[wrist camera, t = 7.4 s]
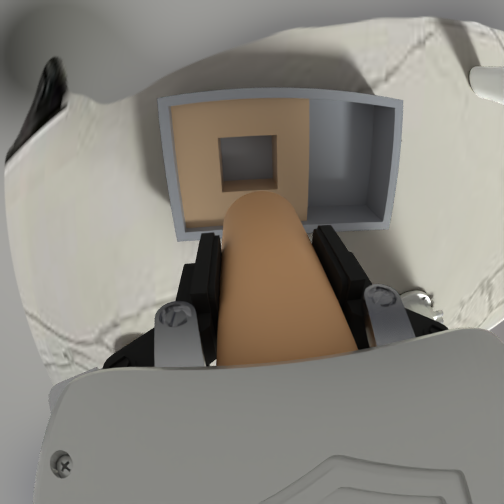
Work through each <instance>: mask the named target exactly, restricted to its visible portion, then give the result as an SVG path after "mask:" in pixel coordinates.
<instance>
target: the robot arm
mask: <svg viewBox="0 0 504 504" xmlns="http://www.w3.org/2000/svg"><path fill="white" fill-rule="evenodd" d="M312 246H313V248H314V250H315V252H316V254H317V256H318V258H319V260H320V263H321V265H322V267H323V269H324V271H325V273H326V276H327V278H328V280H329V282H330V284H331V287H332V289H333V291H334V293H335V296H336V298H337V300H338V302H339V305H340V307H341V309H342V312H343V314H344V316H345V319H346V321H347V323H348V326H349V328H350V331H351V333H352V335H353V338H354V340H355V343H356V345H357V348H358V350H356V351H350V352H344V353H339V354H332V355H326V356H319V357H312V358H305V359H297V360H288V361H279V362H269V363H257V364H244V365H228V366H210V364H211V363H212V362H213V361H214V360H216V359H217V331H218V315H219V293H220V273H221V256H222V251H221V243H220V236H219V235H215V233H214V232H211V233H201V237H200V242H199V247H198V252H197V257H196V262H195V263H191V264H184V267H183V271H182V276H181V280H180V284H179V288H178V292H177V297H176V301H173V302H170V303H167V304H165V305H163V306H162V307H161V308H160V309H159V310H158V311H157V313H156V315H155V327H154V328H153V329H151V330H150V331H148V332H147V333H145V334H144V335H142V336H140V337H139V338H137V339H136V340H134V341H133V342H131V343H130V344H128V345H127V346H125V347H124V348H122V349H121V350H119V351H118V352H116V353H114V354H113V355H111V356H110V357H109V358H108V359H107V360H106V362H105V363H104V366H103V368H102V369H98V368H97V367H96V368H93V369H91V370H89V371H86V372H84V373H82V374H79V375H77V376H74V377H72V378H70V379H67V380H65V381H62V382H60V383H58V384H56V385H55V386H54V387H53V388H52V389H51V391H50V394H49V405H50V410H51V416H50V419H49V422H48V425H47V428H46V432H45V435H44V439H43V442H42V447H41V451H40V457H39V462H38V468H37V474H36V480H35V487H34V497H33V504H504V344H503V342H502V341H501V340H500V339H499V338H498V337H497V336H496V335H495V334H494V333H492V332H491V331H488V330H485V329H481V328H471V327H468V328H456V329H448V328H447V327H446V326H445V325H443V318H442V316H443V311H442V310H439V311H436V312H434V311H433V310H432V308H431V300H430V298H429V296H428V295H427V294H426V293H425V292H423V291H418V290H415V291H409V292H406V293H404V294H402V295H399V294H398V292H397V291H396V290H395V289H393V288H391V287H390V286H387V285H383V284H373V285H372V283H371V282H370V280H369V278H368V277H367V275H366V273H365V272H364V270H363V269H362V267H361V266H360V264H359V262H358V261H357V259H356V258H355V256H354V255H353V253H352V252H349V251H348V250H347V248H346V247H345V245H344V244H343V242H342V241H341V239H340V238H339V236H338V235H337V233H336V232H335V230H334V229H333V227H332V226H331V225H318V227H317V229H314V230H313V239H312Z"/></svg>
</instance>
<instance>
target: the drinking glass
mask: <svg viewBox="0 0 504 504" xmlns="http://www.w3.org/2000/svg"><path fill="white" fill-rule="evenodd" d="M469 80H470V85H471V87H472V90H473V91H474V93H475V94H476V95H477V96H478V97H480V98H483V99H487V100H491V101H494V102H497V103H500V104H503V105H504V66H488V67H484V66H475V67H473V68H472V69H471V71H470V74H469Z"/></svg>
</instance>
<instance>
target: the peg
mask: <svg viewBox="0 0 504 504" xmlns="http://www.w3.org/2000/svg"><path fill="white" fill-rule="evenodd" d="M356 350H358V348H357V345H356V343H355V340H354V338H353V335H352V333H351V331H350V328H349V326H348V323H347V321H346V319H345V316H344V314H343V312H342V309H341V307H340V305H339V302H338V300H337V298H336V296H335V293H334V291H333V289H332V287H331V284H330V282H329V280H328V278H327V276H326V273H325V271H324V269H323V267H322V265H321V263H320V260H319V258H318V256H317V254H316V252H315V250H314V248H313V246H312V244H311V242H310V239H309V237H308V235H307V233H306V231H305V229H304V227H303V225H302V223H301V221H300V219H299V217H298V215H297V213H296V211H295V209H294V207H293V206H292V205H291V203H290V202H289V201H288V200H287V199H285V198H284V197H282V196H281V195H279V194H276V193H273V192H268V191H256V192H251V193H248V194H245V195H243V196H242V197H240V198H238V199H237V200H236V201H235V202H234V203H233V204H232V205H231V206H230V207H229V209H228V210H227V212H226V215H225V218H224V223H223V236H222V256H221V273H220V293H219V315H218V331H217V361H216V366H228V365H244V364H257V363H269V362H279V361H288V360H297V359H305V358H312V357H319V356H326V355H332V354H339V353H344V352H350V351H356Z"/></svg>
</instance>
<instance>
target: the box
mask: <svg viewBox="0 0 504 504" xmlns="http://www.w3.org/2000/svg"><path fill="white" fill-rule="evenodd" d="M157 103H158V114H159V124H160V133H161V141H162V149H163V157H164V164H165V171H166V178H167V185H168V191H169V197H170V204H171V209H172V215H173V221H174V226H175V232H176V237H177V242H179V241H192V240H200V237H201V233H211V232H214V233H215V235H219V236H220V239H221V238H222V236H223V223H224V218H225V215H226V212H227V210H228V209H229V207H230V206H231V205H232V204H233V203H234V202H235V201H236V200H237V199H238V198H240V197H242V196H243V195H245V194H248V193H251V192H256V191H268V192H273V193H276V194H279V195H281V196H282V197H284V198H285V199H287V200H288V201H289V202H290V203H291V205H292V206H293V207H294V209H295V211H296V213H297V215H298V217H299V219H300V221H301V223H302V225H303V227H304V229H305V231H306V233H313V230H314V229H317V227H318V225H331V226H332V227H333V229H334V230H335V232H340V231H361V230H384V229H389V226H390V220H391V215H392V209H393V203H394V197H395V190H396V183H397V176H398V168H399V159H400V148H401V136H402V120H403V100H399V99H394V98H388V97H383V96H377V95H370V94H363V93H356V92H347V91H338V90H326V89H311V88H240V89H225V90H213V91H203V92H195V93H187V94H180V95H173V96H167V97H161V98H157Z"/></svg>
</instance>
